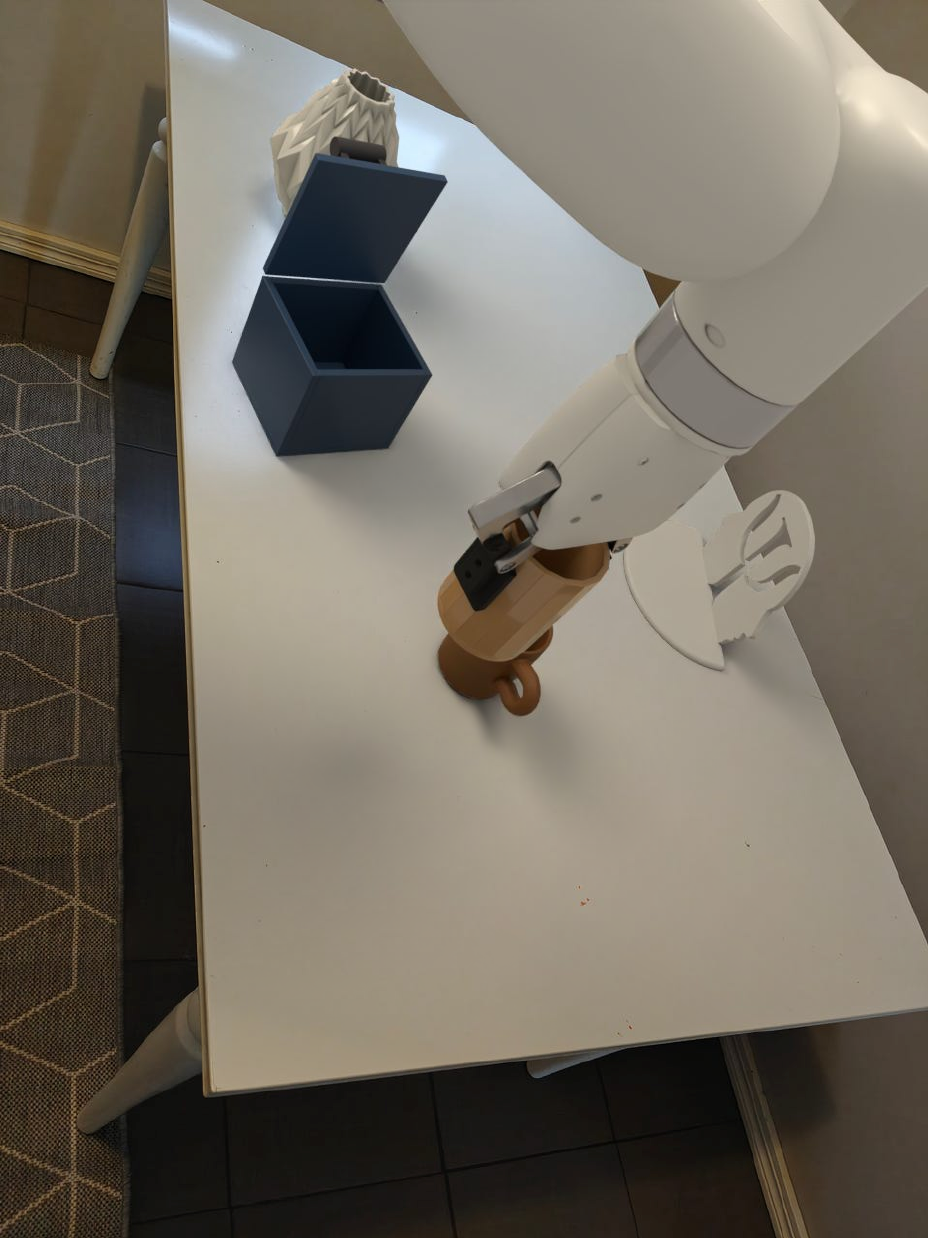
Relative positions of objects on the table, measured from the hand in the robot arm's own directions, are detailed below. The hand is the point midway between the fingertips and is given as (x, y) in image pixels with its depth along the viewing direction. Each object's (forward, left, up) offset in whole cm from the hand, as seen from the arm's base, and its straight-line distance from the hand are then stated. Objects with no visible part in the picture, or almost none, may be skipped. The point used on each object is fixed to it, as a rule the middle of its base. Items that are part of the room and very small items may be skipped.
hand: (517, 579), depth 52 cm
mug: (+10, +11, -28) cm, 32 cm away
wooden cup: (0, 0, -4) cm, 4 cm away
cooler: (-14, +37, -27) cm, 49 cm away
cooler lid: (-17, +41, -9) cm, 46 cm away
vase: (-22, +68, -28) cm, 77 cm away
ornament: (+33, +37, -28) cm, 57 cm away
